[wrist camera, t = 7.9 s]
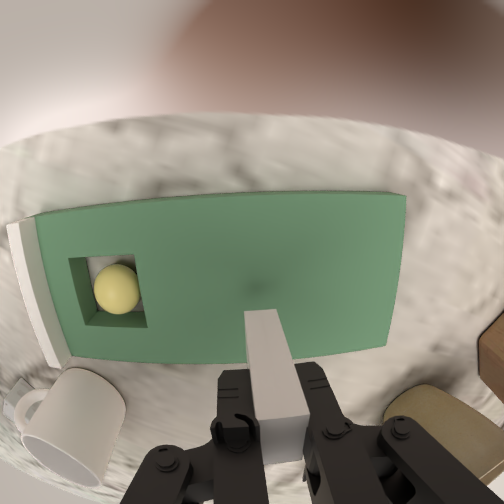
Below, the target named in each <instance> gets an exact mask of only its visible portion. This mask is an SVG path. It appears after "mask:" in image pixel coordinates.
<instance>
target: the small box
mask: <svg viewBox="0 0 504 504" xmlns="http://www.w3.org/2000/svg"><path fill="white" fill-rule="evenodd" d="M32 390H35V389H34V388H33V387H32V386H30V385H29V384H28V383H27V382H26V381H25V380H24V379H23V378H22V377H21V378H20V379H19V380H18V382H17V383H16V384H15V385H14V387H13V388H12V389H11V390H10V392H9V393H8V394H7V395H6V397H5V398H4V406H3V414H4V415H5V416H6V417H7V418H8V419H9V420H11V421H12V422H13V423H14V424H15V422H14V410H15V407H16V405H17V403H18V401H19V400H20V399H21V398H22V397H23V396H24V395H25V394H27V393H28V392H30V391H32ZM42 401H43V400H41V401H37V402H35V403H34V404H32V405H31V406H30V407H29V409H28V410H27V412H26V414H25V421H26V423H27V424H28V423H29V421H30V420H31V418H32V416H33V415H34V413H35V412H36V410H37V409H38V407H39V406H40V404H41V402H42Z"/></svg>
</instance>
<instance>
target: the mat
mask: <svg viewBox="0 0 504 504" xmlns="http://www.w3.org/2000/svg"><path fill="white" fill-rule="evenodd" d="M405 213H406V196H405V195H400V194H395V193H391V192H370V191H271V192H243V193H223V194H206V195H191V196H178V197H166V198H155V199H144V200H134V201H125V202H116V203H108V204H100V205H92V206H85V207H78V208H71V209H64V210H58V211H51V212H45V213H40V214H37V215H33V216H30V217H27V218H24V219H21V220H18V221H16V222H13V223H10V224H7V225H6V226H7V232H8V238H9V244H10V249H11V254H12V258H13V263H14V267H15V271H16V275H17V279H18V283H19V286H20V290H21V293H22V297H23V300H24V303H25V306H26V309H27V312H28V315H29V318H30V321H31V324H32V326H33V329H34V332H35V334H36V337H37V340H38V342H39V344H40V347H41V349H42V352H43V354H44V356H45V359H46V361H47V363H48V365H49V367H53V368H58V369H62V368H63V367H64V365H65V364H66V363H67V361H68V360H69V359H70V357H71V356H77V357H85V358H94V359H103V360H114V361H126V362H141V363H164V364H228V363H247V355H246V337H245V319H244V311H254V310H268V309H276V310H277V313H278V316H279V319H280V322H281V325H282V329H283V332H284V335H285V338H286V341H287V344H288V347H289V350H290V353H291V356H292V359H301V358H310V357H318V356H326V355H333V354H340V353H347V352H353V351H359V350H365V349H371V348H376V347H382V346H386V342H387V338H388V333H389V329H390V324H391V319H392V314H393V309H394V304H395V298H396V292H397V286H398V280H399V273H400V265H401V257H402V249H403V239H404V227H405ZM133 254H134V257H135V264H136V270H137V276H138V281H139V287H140V292H141V297H142V302H143V307H144V312H127V313H124V314H112V313H109V312H107V311H98V310H97V307H96V303H95V299H94V295H93V291H92V287H91V282H90V278H89V273H88V268H87V263H86V258H85V257H94V256H114V255H133Z"/></svg>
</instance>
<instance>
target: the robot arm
mask: <svg viewBox="0 0 504 504" xmlns="http://www.w3.org/2000/svg"><path fill="white" fill-rule="evenodd" d="M244 319H245V337H246V355H247V366H248V369H240V370H224V371H223V372H222V374H221V375H220V377H219V378H218V392H217V417H216V418H215V419H214V420H213V421H212V423H211V427H210V430H211V434H212V439H211V440H210V441H209V442H208V443H206V444H205V445H203V446H200V447H197V448H193V449H189V450H183V449H182V448H179V447H177V446H175V445H161V446H157V447H155V448H153V449H151V450H150V451H149V452H148V454H147V455H146V456H145V458H144V460H143V462H142V463H141V465H140V467H139V469H138V471H137V473H136V474H135V476H134V478H133V480H132V482H131V484H130V486H129V487H128V489H127V491H126V493H125V495H124V497H123V498H122V500H121V502H120V504H203V503H204V501H208V500H212V499H214V504H269V500H268V493H267V486H266V479H265V472H264V465H266V464H276V463H284V462H292V461H298V460H302V457H303V455H304V459H305V463H306V465H305V469H304V473H303V482H304V481H306V480H307V484H308V488H309V492H310V496H311V500H312V504H504V501H503V500H501V499H500V498H499V497H498V496H497V495H496V494H495V493H494V492H493V491H492V490H490V489H489V488H488V487H487V486H486V485H485V484H484V483H483V482H482V481H480V480H479V479H478V478H477V477H476V476H475V475H474V474H473V473H472V472H471V471H470V470H468V469H467V468H466V467H465V466H464V465H463V464H462V463H461V462H460V461H459V460H458V459H456V458H455V457H454V456H453V455H452V454H451V453H450V452H449V451H448V450H447V449H446V448H444V447H443V446H442V445H441V444H440V443H439V442H438V441H437V440H436V439H435V438H434V437H433V436H432V435H430V434H429V433H428V432H427V431H426V430H425V429H424V428H423V427H422V426H421V425H420V424H419V423H418V422H416V421H415V420H414V419H412V418H411V417H407V416H404V415H401V416H394V417H391V418H389V419H388V420H386V421H385V422H384V424H383V426H361V425H357V424H354V423H353V422H352V421H351V420H349V419H348V418H346V417H344V415H343V414H342V412H341V409H340V407H339V405H338V402H337V400H336V398H335V396H334V393H333V391H332V389H331V387H330V384H329V382H328V380H327V377H326V375H325V373H324V371H323V369H322V368H321V367H320V366H319V365H318V364H316V363H315V362H306V363H298V364H294V362H293V359H292V356H291V353H290V350H289V347H288V344H287V341H286V338H285V335H284V332H283V329H282V325H281V322H280V319H279V316H278V313H277V310H276V309H268V310H254V311H244Z"/></svg>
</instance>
